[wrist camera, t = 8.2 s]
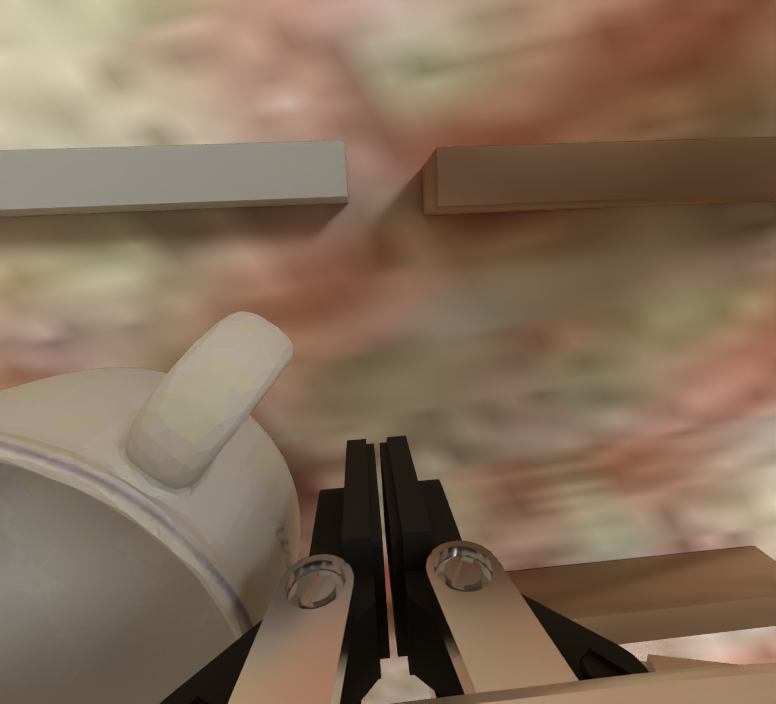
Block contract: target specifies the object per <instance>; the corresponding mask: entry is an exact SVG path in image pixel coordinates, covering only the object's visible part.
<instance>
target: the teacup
mask: <svg viewBox="0 0 776 704" xmlns="http://www.w3.org/2000/svg"><path fill="white" fill-rule="evenodd" d="M293 355H294V346H293V344H292V342H291V341H290V340H289V338H288V337H287V336H286V335H285V333H284V332H283V331H282V330H281V329H280V328H278V327H277V326H275V325H273V324H272V323H270V322H269V321H267V320H266V319H264V318H262V317H261V316H259V315H256V314H254V313H251V312H246V311H239V312H236V313H233V314H230V315H228V316H227V317H225V318H224V319H222V320H220V321H219V322H217V323H216V324H215V325H214V326H213V327H212V328H211V329H209V330H208V331H207V332H206V333H205V334H204V335H203V336H202V337H200V338H199V339H198V340H197V341H196V342H195V343H194V344H193V345H192V346H191V347H190V348H189V349H188V350H187V352H186V353H185V354H184V355H183V356H182V357H181V358H180V359H179V361H178V362H177V363H176V364H175V365H174V366H173V367H172V368H171V370H170V371H169V372H168V373H165V372H161V371H155V370H149V369H141V368H99V369H89V370H82V371H77V372H71V373H66V374H61V375H57V376H52V377H48V378H44V379H40V380H36V381H32V382H29V383H25V384H22V385H18V386H15V387H11V388H8V389H4V390H1V391H0V704H160V703H161V702H162V701H163V700H164V699H165V698H166V697H168V696H169V695H170V694H171V693H173V692H174V691H175V690H176V689H177V688H179V687H180V686H181V685H182V684H184V683H185V682H186V681H187V680H188V679H190V678H191V677H192V676H193V675H195V674H196V673H197V672H198V671H200V670H201V669H202V668H203V667H204V666H206V665H207V664H208V663H209V662H211V661H212V660H213V659H214V658H216V657H217V656H218V655H219V654H220V653H222V652H223V651H224V650H225V649H227V648H228V647H229V646H230V645H232V644H233V643H234V642H235V641H236V640H238V639H239V638H240V637H241V636H243V635H244V634H245V633H246V632H247V631H249V630H250V629H251V628H252V627H254V626H255V625H256V624H257V623H259V622H260V621H261V620H262V619H263V618H264V616H265V614H266V611H267V609H268V606H269V604H270V602H271V599H272V597H273V595H274V592H275V590H276V587H277V585H278V583H279V581H280V579H281V578H282V576H283V574H284V573H285V572H286V571H287V570H288V569H289V568H290V567H291V566H292V565H293V564H295V563H297V562H298V555H299V546H300V510H299V504H298V498H297V492H296V489H295V485H294V482H293V478H292V476H291V473H290V471H289V469H288V466H287V464H286V462H285V460H284V458H283V456H282V454H281V452H280V451H279V449H278V448H277V446H276V445H275V443H274V442H273V440H272V439H271V438H270V436H269V435H268V434H267V433H266V432H265V430H264V429H263V428H262V427H261V426H260V425H259V424H258V422H257V421H256V420H255V419H253V418H252V417H251V416H250V415H249V414H250V413H251V412H252V410H253V409H254V408H255V406H256V405H257V404H258V403H259V401H260V400H261V399H262V397H263V396H264V395H265V393H266V392H267V391H268V389H269V388H270V387H271V386H272V384H273V383H274V382H275V380H276V379H277V378H278V376H279V375H280V374H281V373H282V371H283V370H284V369H285V367H286V366H287V365H288V364H289V362H290V360H291V359H292V357H293Z"/></svg>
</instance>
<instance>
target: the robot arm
mask: <svg viewBox="0 0 776 704" xmlns="http://www.w3.org/2000/svg"><path fill="white" fill-rule="evenodd" d="M380 458H381V474H382V490H383V506H384V522H385V535H386V545H387V555H388V565H389V575H390V585H391V594H392V604H393V614H394V624H395V634H396V643H397V653H398V657H401V656H408V664H409V672H410V675H416V676H417V677H418V678H419V679H420V680H422V681H423V682H424V683H425V684H427V685H428V686H429V687H430V694H431V699H425V700H417V701H409V702H401V703H393V704H776V663H766V664H747V665H738V664H729V663H720V662H711V661H703V660H694V659H685V658H676V657H667V656H659V655H650V654H648V657H647V662H643V661H639V660H638V659H637V658H636V657H635V656H634V655H633V654H631V653H630V652H628V651H627V650H625V649H624V648H622V647H621V646H619V645H617V644H616V643H614V642H612V641H610V640H608V639H606V638H604V637H602V636H600V635H599V634H597V633H595V632H593V631H591V630H589V629H587V628H585V627H583V626H582V625H580V624H578V623H576V622H574V621H572V620H570V619H568V618H567V617H565V616H563V615H561V614H559V613H557V612H555V611H553V610H551V609H550V608H548V607H546V606H544V605H542V604H540V603H538V602H536V601H534V600H533V599H531V598H529V597H527V596H525V595H523V594H521V593H520V592H519V591H518V589H517V588H516V586H515V585H514V583H513V582H512V580H511V579H510V577H509V576H508V574H507V573H506V571H505V570H504V568H503V567H502V565H501V564H500V562H499V561H498V559H497V558H496V557H495V556H494V555H493V554H492V553H491V552H490V551H489V550H487V549H486V548H484V547H483V546H481V545H478V544H475V543H472V542H468V541H462V539H461V537H460V534H459V531H458V528H457V526H456V523H455V520H454V518H453V515H452V512H451V509H450V507H449V504H448V501H447V499H446V496H445V493H444V490H443V488H442V485H441V483H440V480H438V479H436V480H425V481H418V479H417V476H416V472H415V468H414V464H413V461H412V457H411V453H410V450H409V446H408V442H407V439H406V436H396V437H387V442H386V443H380ZM384 658H390V649H389V634H388V619H387V603H386V588H385V572H384V557H383V542H382V529H381V518H380V507H379V496H378V484H377V473H376V462H375V451H374V444H366V439H360V440H348V441H347V448H346V467H345V485H344V488H336V489H325V490H320V493H319V498H318V505H317V511H316V517H315V524H314V530H313V536H312V543H311V549H310V555H309V557H307V558H304V559H302V560H300V561H298V562H297V563H295V564H293V565H292V566H291V567H290V568H289V569H288V570H287V571H286V572H285V573H284V574H283V576H282V578H281V579H280V581H279V583H278V585H277V587H276V590H275V592H274V595H273V597H272V599H271V602H270V604H269V606H268V609H267V611H266V614H265V616H264V618H263V619H262V620H261V621H260V622H259V623H257V624H256V625H255V626H254V627H252V628H251V629H250V630H249V631H247V632H246V633H245V634H244V635H243V636H241V637H240V638H239V639H238V640H236V641H235V642H234V643H233V644H232V645H230V646H229V647H228V648H227V649H225V650H224V651H223V652H222V653H220V654H219V655H218V656H217V657H216V658H214V659H213V660H212V661H211V662H209V663H208V664H207V665H206V666H204V667H203V668H202V669H201V670H200V671H198V672H197V673H196V674H195V675H193V676H192V677H191V678H190V679H188V680H187V681H186V682H185V683H184V684H182V685H181V686H180V687H179V688H177V689H176V690H175V691H174V692H173V693H171V694H170V695H169V696H168V697H166V698H165V699H164V700H163V701H162V702H161V703H160V704H365V698H364V697H365V695H366V694H367V693H368V692H369V690H370V689H371V688H372V687H373V685H374V684H375V683H376V682H377V680H378V679H381V668H380V659H384Z"/></svg>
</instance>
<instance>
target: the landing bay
mask: <svg viewBox="0 0 776 704" xmlns="http://www.w3.org/2000/svg"><path fill="white" fill-rule="evenodd" d="M334 203H348V189H347V174H346V159H345V148H344V140H338V141H304V142H270V143H236V144H202V145H168V146H135V147H101V148H67V149H33V150H0V217H9V216H34V215H59V214H84V213H109V212H134V211H159V210H184V209H209V208H234V207H259V206H284V205H309V204H334Z"/></svg>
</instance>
